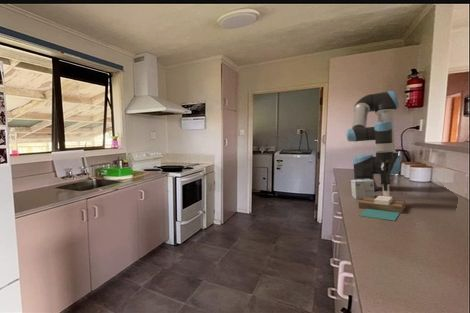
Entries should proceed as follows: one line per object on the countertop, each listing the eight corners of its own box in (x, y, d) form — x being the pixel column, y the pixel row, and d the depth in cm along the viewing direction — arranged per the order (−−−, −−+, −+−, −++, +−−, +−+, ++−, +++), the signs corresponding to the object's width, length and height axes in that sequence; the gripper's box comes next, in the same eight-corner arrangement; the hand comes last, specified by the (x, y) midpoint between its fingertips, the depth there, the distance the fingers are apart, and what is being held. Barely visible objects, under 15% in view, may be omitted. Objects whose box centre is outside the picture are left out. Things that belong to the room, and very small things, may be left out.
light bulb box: (369, 195, 141) (368, 178, 140) (375, 198, 134) (374, 180, 134) (351, 196, 142) (350, 179, 141) (356, 199, 135) (354, 181, 135)
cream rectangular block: (378, 199, 122) (378, 195, 122) (392, 200, 117) (392, 196, 117) (374, 203, 115) (374, 199, 115) (388, 205, 111) (388, 201, 111)
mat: (366, 209, 117) (366, 208, 117) (399, 213, 107) (399, 212, 107) (358, 215, 108) (358, 215, 108) (394, 221, 99) (394, 220, 99)
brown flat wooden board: (365, 202, 128) (365, 197, 128) (405, 206, 116) (405, 200, 115) (358, 208, 120) (358, 202, 119) (401, 213, 107) (401, 207, 107)
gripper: (378, 150, 127) (381, 193, 128) (372, 152, 117) (374, 198, 119) (395, 150, 121) (397, 194, 123) (390, 152, 112) (392, 200, 113)
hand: (386, 196), depth 121 cm, fingers closed
